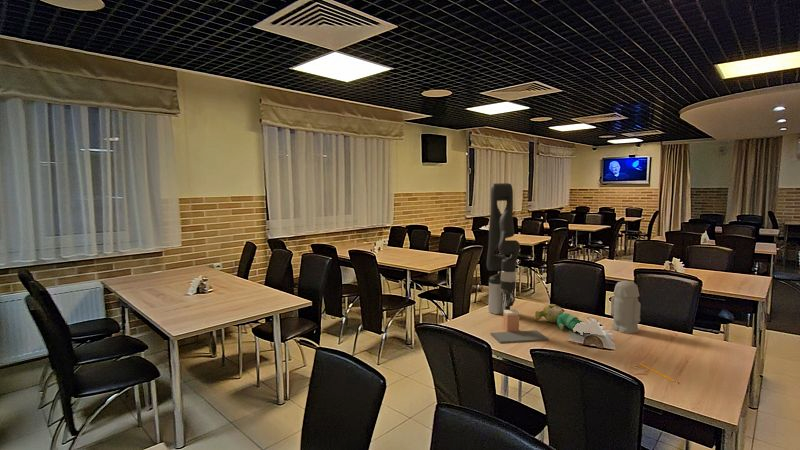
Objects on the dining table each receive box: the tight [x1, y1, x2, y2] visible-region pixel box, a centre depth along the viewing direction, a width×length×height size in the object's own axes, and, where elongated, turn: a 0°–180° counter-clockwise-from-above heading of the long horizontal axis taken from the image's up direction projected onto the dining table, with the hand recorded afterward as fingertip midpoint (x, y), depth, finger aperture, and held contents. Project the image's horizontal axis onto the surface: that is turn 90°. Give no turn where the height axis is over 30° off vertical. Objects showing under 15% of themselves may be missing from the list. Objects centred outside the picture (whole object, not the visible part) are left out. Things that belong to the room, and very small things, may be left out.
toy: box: [534, 303, 583, 331], centre depth 220 cm, size 17×10×30 cm
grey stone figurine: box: [610, 280, 642, 335], centre depth 213 cm, size 15×10×25 cm
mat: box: [490, 329, 549, 344], centre depth 204 cm, size 12×24×1 cm, turn 99°
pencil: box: [637, 362, 680, 383], centre depth 165 cm, size 1×19×1 cm, turn 15°
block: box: [502, 309, 520, 332], centre depth 213 cm, size 5×6×10 cm
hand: (507, 313), depth 217 cm, fingers closed
